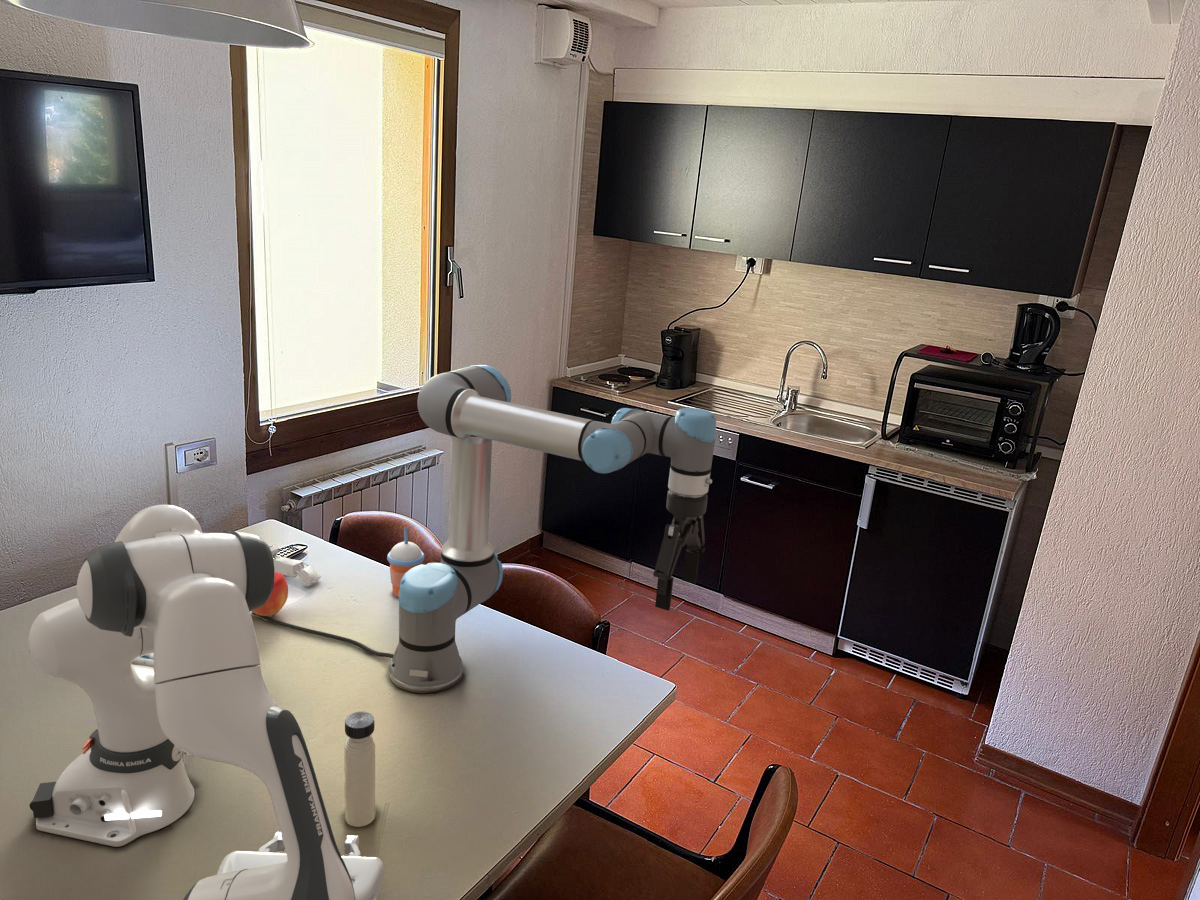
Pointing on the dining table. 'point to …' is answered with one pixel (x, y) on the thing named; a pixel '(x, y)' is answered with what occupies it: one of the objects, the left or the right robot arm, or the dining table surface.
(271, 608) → the apple
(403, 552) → the cup with straw
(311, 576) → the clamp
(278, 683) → the dining table surface
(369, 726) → the cap
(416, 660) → the right robot arm
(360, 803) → the bottle
